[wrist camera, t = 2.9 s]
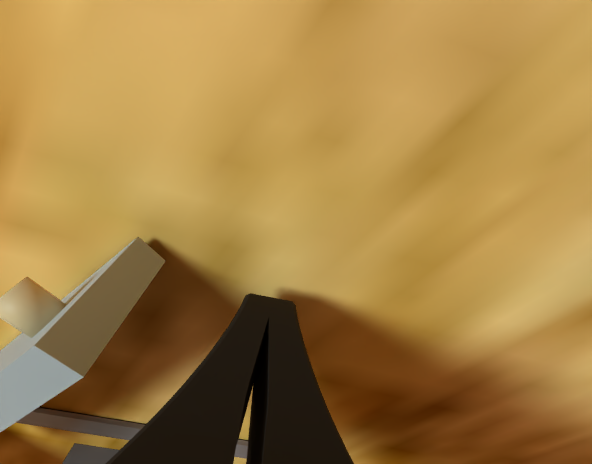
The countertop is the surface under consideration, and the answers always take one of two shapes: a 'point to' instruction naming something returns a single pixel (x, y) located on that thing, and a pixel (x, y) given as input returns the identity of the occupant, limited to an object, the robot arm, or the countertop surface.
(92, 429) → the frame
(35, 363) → the pale grey bar
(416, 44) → the countertop surface
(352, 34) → the countertop surface
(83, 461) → the stepped block
